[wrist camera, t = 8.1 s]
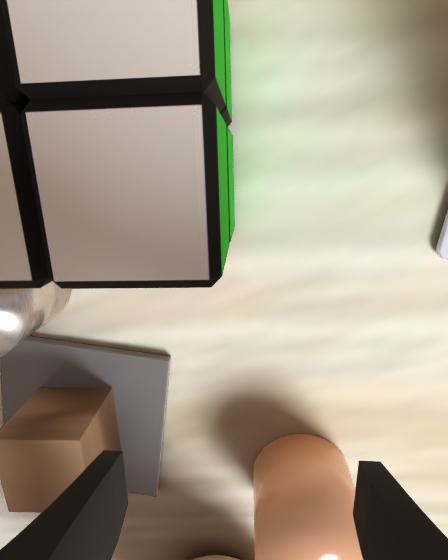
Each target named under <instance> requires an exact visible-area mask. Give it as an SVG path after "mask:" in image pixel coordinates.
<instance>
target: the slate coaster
mask: <svg viewBox="0 0 448 560" xmlns="http://www.w3.org/2000/svg"><path fill="white" fill-rule="evenodd" d="M170 360H171V356H165V355H158V354H152V353H145V352H138V351H131V350H124V349H117V348H110V347H103V346H97V345H90V344H83V343H76V342H69V341H62V340H55V339H48V338H42V337H35V336H28V337H27V338H26V339H25V340H23V341H22V342H21V343H19V344H18V345H17V346H16V347H14V348H13V349H12V350H10V351H9V352H8V353H6V354H5V355H4V356H2V357H0V369H1V387H2V405H3V422H4V424H5V423H6V422H7V421H8V420H9V419H10V418H11V417H12V416H13V415H14V414H15V413H16V412H17V411H18V410H19V409H20V407H21V406H22V405H23V404H24V403H25V402H26V401H27V400H28V399H29V398H30V397H31V396H32V395H33V394H34V393H35V392H36V391H37V390H38V388H69V387H112V389H113V396H114V403H115V410H116V416H117V423H118V430H119V437H120V444H121V451H123V459H124V468H125V478H126V488H127V492H130V493H136V494H143V495H149V496H156V495H157V491H158V486H159V475H160V465H161V454H162V444H163V433H164V423H165V412H166V402H167V392H168V381H169V371H170Z"/></svg>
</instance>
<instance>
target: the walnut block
mask: <svg viewBox="0 0 448 560" xmlns="http://www.w3.org/2000/svg"><path fill="white" fill-rule="evenodd" d="M103 450H110V451H121V444H120V437H119V430H118V423H117V416H116V410H115V403H114V396H113V389H112V387H69V388H38V390H37V391H36V392H35V393H34V394H33V395H32V396H31V397H30V398H29V399H28V400H27V401H26V402H25V403H24V404H23V405H22V406H21V407H20V409H19V410H18V411H17V412H16V413H15V414H14V415H13V416H12V417H11V418H10V419H9V420H8V421H7V422H6V423H5V424H4V425H3V426H2V428H1V429H0V479H1V483H2V487H3V491H4V495H5V498H6V502H7V506H8V510H9V512H43V511H44V510H45V509H46V508H47V507H48V506H49V505H50V504H51V503H52V502H53V501H54V500H55V499H56V498H57V497H58V496H59V495H60V494H61V493H62V492H63V491H64V490H65V489H66V488H67V487H68V486H69V485H70V484H71V483H72V482H73V481H74V480H75V479H76V478H77V477H78V476H79V475H80V474H81V473H82V472H83V471H84V470H85V469H86V468H87V467H88V466H89V465H90V464H91V462H92V461H93V460H94V459H95V458H96V457H97V456H98V455H99V454H100V453H101V452H102V451H103Z"/></svg>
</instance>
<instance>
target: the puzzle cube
mask: <svg viewBox="0 0 448 560" xmlns="http://www.w3.org/2000/svg"><path fill="white" fill-rule="evenodd" d="M231 122H232V107H231V65H230V23H229V9H228V1H227V0H0V289H25V288H42V287H43V286H45V285H47V284H48V283H50V282H52V281H53V282H54V283H55V284H56V285H58V286H59V287H60V288H61V289H79V288H190V287H212V286H213V285H214V284H215V283H216V282H217V281H218V280H219V279H220V278H221V277H222V274H223V269H224V265H225V261H226V257H227V252H228V248H229V243H230V241H231V238H232V234H233V230H234V226H235V220H234V177H233V136H232V134H231V132H230V130H229V128H228V126H229V124H230V123H231Z"/></svg>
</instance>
